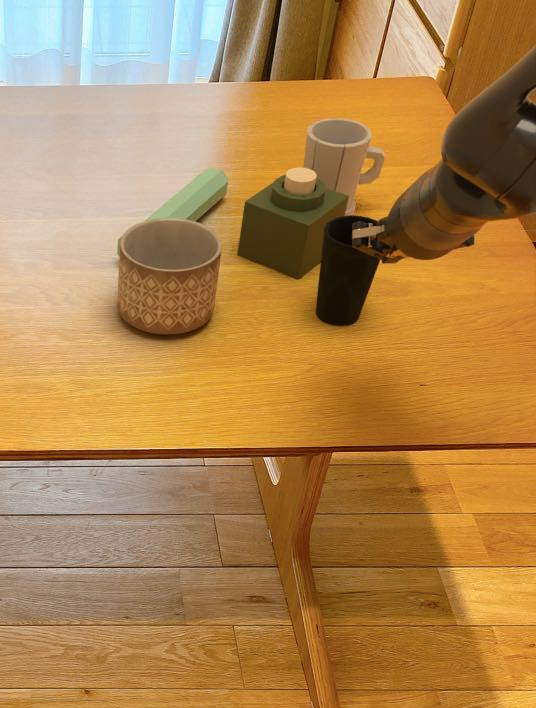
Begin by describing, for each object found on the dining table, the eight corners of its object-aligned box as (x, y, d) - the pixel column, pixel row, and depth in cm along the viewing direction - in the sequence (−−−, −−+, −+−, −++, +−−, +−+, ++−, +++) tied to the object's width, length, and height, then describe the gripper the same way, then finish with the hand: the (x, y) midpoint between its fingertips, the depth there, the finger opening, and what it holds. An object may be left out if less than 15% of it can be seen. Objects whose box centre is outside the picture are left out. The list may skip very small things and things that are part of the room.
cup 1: (331, 186, 156) (347, 108, 147) (376, 210, 151) (395, 131, 142) (280, 207, 152) (293, 129, 144) (324, 232, 147) (341, 153, 138)
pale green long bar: (211, 152, 152) (126, 223, 139) (242, 175, 152) (160, 249, 138) (194, 183, 157) (110, 254, 144) (224, 205, 157) (142, 280, 143)
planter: (138, 278, 141) (142, 209, 133) (226, 299, 137) (235, 229, 129) (101, 327, 134) (104, 257, 126) (193, 351, 129) (201, 279, 122)
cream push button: (319, 187, 137) (322, 173, 135) (303, 199, 135) (306, 184, 133) (294, 178, 139) (296, 164, 137) (277, 190, 137) (280, 175, 135)
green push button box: (337, 249, 144) (352, 183, 136) (298, 279, 139) (311, 212, 132) (276, 226, 149) (287, 161, 141) (237, 254, 144) (246, 188, 137)
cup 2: (362, 335, 130) (383, 252, 121) (301, 324, 132) (319, 241, 123) (371, 303, 134) (393, 220, 126) (313, 292, 137) (331, 210, 128)
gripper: (514, 169, 97) (449, 220, 114) (371, 172, 98) (328, 222, 115) (512, 248, 97) (447, 287, 114) (369, 250, 98) (327, 288, 115)
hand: (388, 254), depth 115 cm, fingers closed
